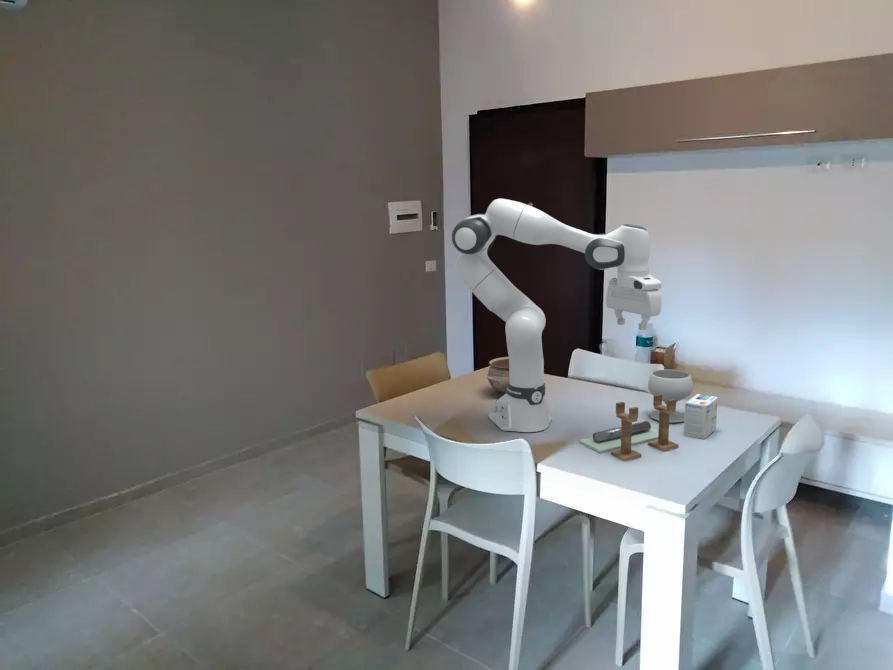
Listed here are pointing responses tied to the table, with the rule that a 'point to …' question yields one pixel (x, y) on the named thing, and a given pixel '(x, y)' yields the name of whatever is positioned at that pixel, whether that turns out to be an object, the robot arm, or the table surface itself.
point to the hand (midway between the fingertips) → (631, 327)
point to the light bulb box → (700, 416)
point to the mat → (616, 442)
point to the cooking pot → (499, 374)
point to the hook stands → (627, 420)
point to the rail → (617, 432)
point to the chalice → (670, 389)
